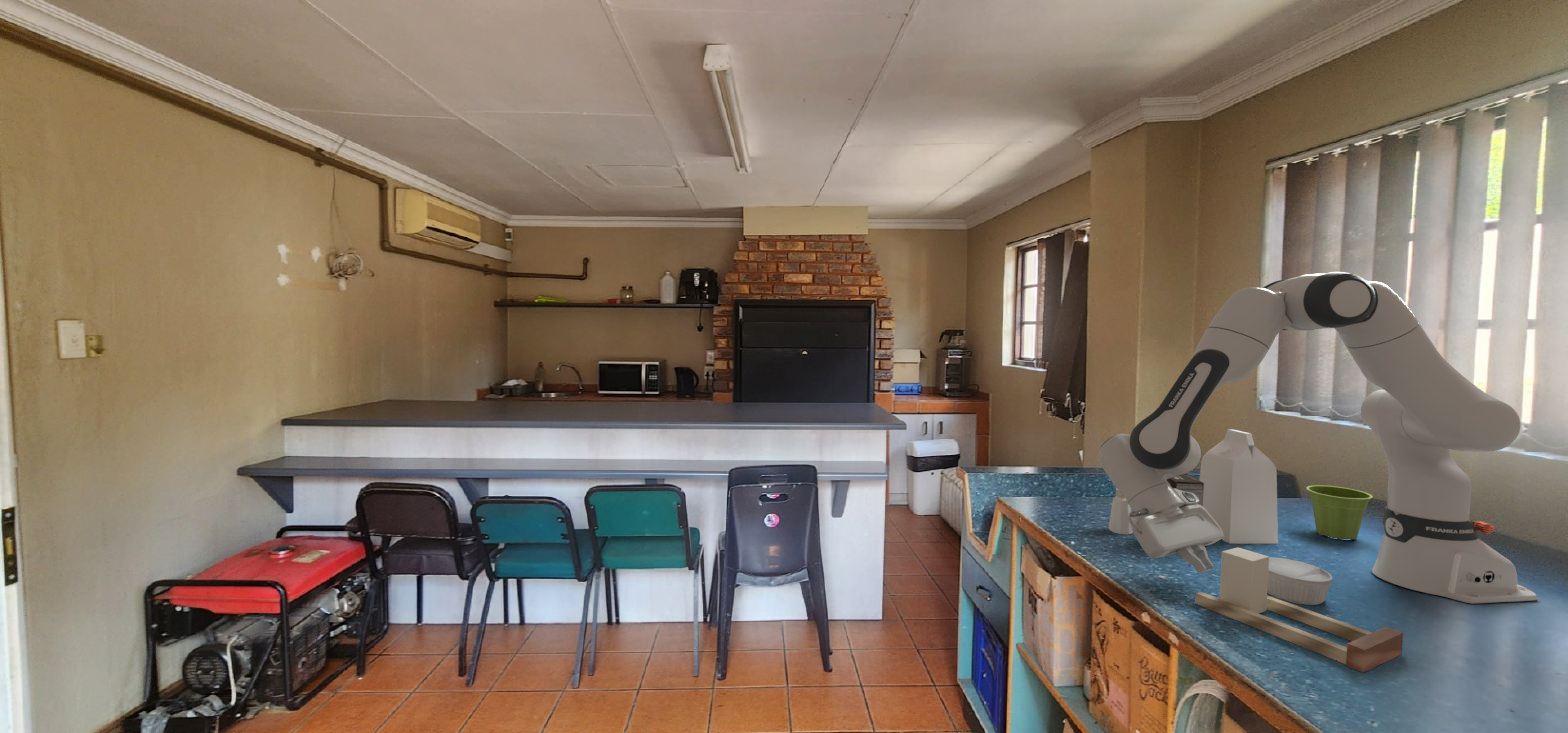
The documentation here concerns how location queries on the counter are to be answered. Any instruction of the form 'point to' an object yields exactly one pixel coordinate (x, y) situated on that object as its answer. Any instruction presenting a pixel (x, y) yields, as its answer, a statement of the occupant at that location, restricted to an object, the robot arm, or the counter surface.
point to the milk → (1241, 490)
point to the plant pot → (1338, 510)
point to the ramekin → (1297, 581)
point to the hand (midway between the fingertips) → (1206, 570)
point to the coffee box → (1188, 485)
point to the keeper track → (1357, 655)
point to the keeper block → (1244, 579)
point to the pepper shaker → (1120, 515)
